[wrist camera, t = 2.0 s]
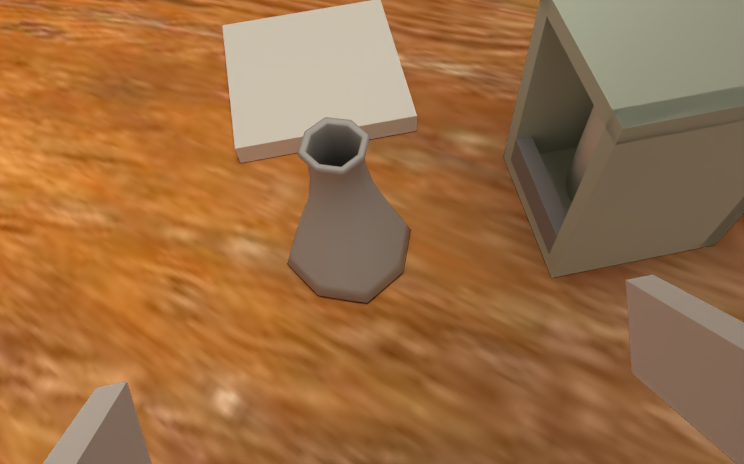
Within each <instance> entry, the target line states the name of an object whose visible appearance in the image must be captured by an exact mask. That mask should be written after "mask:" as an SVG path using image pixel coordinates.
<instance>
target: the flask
mask: <svg viewBox="0 0 744 464" xmlns="http://www.w3.org/2000/svg"><path fill="white" fill-rule="evenodd" d="M369 139H370V137H369V134H368V133H366V132H365V131H364V130H363V129H362V128H360V127H359V126H358V125H357V124H355V123H354V122H353V121H352V120H347V119H338V118H330V117H325V118H323V119H322V120H320V121H319V122H317V123H316V124H315V125H313V126H312V127H310V128H309V129H307V130H306V131H305V132H304V135H303V138H302V142H301V145H300V148H299V151H298V156H299V157H300V159H302V160H303V161H304V162H305V163H306V164H307V165H308V169H309V174H310V185H309V198H308V201H307V203H306V206H305V208H304V211H303V213H302V216H301V218H300V222H299V225H298V228H297V232H296V235H295V239H294V242H293V245H292V249H291V252H290V256H289V259H288V263H287V264H288V265H289V266H290V267H291V268H292V269H293V270H294V271H295V272H296V273H297V274H298V275H299V276H300V277H301V278H302V279H303V280H304V281H305V282H306V284H307V285H308V286H309V287H310V288H311V289H312V290H313V291H314V292H315V293H316V294H317V295H318V296H325V297H331V298H338V299H344V300H351V301H357V302H363V303H368V302H369V301H370V300H371V299H372V298H373V297H375V296H376V295H377V294H378V293H379V292H380V291H382V290H383V289H384V288H385V287H386V286H387V285H389V284H390V283H391V282H392V281H393V280H394V279H396V278H397V277H398V276H399V275H400V274H401V273H403V271H404V265H405V260H406V254H407V248H408V243H409V237H410V232H411V230H410V229H409V227H408V226H407V225H406V223H405V222H404V221H403V220H402V219H401V217H400V216H399V215H398V214H397V213H396V212H395V210H394V209H393V208H392V207H391V206H390V204H389V203H388V202H387V200H386V199H385V198H384V196H383V195H382V194H381V192H380V191H379V190H378V188H377V187H376V185H375V184H374V183H373V180H372V178H371V175H370V173H369V171H368V168H367V166H366V163H365V155H366V151H367V147H368V143H369Z"/></svg>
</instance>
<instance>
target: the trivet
mask: <svg viewBox="0 0 744 464" xmlns="http://www.w3.org/2000/svg"><path fill="white" fill-rule="evenodd" d="M223 35H224V45H225V55H226V65H227V75H228V85H229V94H230V104H231V114H232V124H233V134H234V144H235V150H236V153H237V155H238V158H239V161H240V163H243V162H249V161H254V160H260V159H265V158H271V157H276V156H282V155H287V154H293V153H298V151H299V148H300V145H301V142H302V138H303V135H304V132H305V131H306V130H307V129H309V128H310V127H312V126H313V125H315V124H316V123H317V122H319V121H320V120H322V119H323V118H325V117H330V118H338V119H347V120H352V121H353V122H354V123H355V124H357V125H358V126H359V127H360V128H362V129H363V130H364V131H365V132H366V133H368V134H369V137H370V139H375V138H380V137H386V136H391V135H396V134H402V133H407V132H413V131H417V114H416V111H415V108H414V105H413V102H412V98H411V95H410V92H409V89H408V86H407V83H406V79H405V76H404V73H403V70H402V67H401V64H400V60H399V57H398V54H397V51H396V48H395V45H394V41H393V38H392V35H391V32H390V29H389V26H388V22H387V19H386V16H385V13H384V10H383V7H382V3H381V0H371V1H365V2H359V3H353V4H347V5H341V6H335V7H329V8H324V9H318V10H312V11H306V12H300V13H294V14H288V15H282V16H276V17H270V18H264V19H258V20H252V21H246V22H240V23H234V24H228V25H223Z"/></svg>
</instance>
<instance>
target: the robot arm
mask: <svg viewBox="0 0 744 464" xmlns="http://www.w3.org/2000/svg"><path fill="white" fill-rule="evenodd" d="M625 281H626V296H627V310H628V325H629V339H630V354H631V368H632V374H633V375H634V376H635V377H637V378H638V379H639V380H640V381H641V382H642V383H644V384H645V385H646V386H647V387H648V388H649V389H650V390H652V391H653V392H654V393H655V394H656V395H657V396H659V397H660V398H661V399H662V400H663V401H664V402H666V403H667V404H668V405H669V406H670V407H671V408H672V409H674V410H675V411H676V412H677V413H678V414H679V415H681V416H682V417H683V418H684V419H685V420H686V421H687V422H689V423H690V424H691V425H692V426H693V427H694V428H696V429H697V430H698V431H699V432H700V433H701V434H702V435H704V436H705V437H706V438H707V439H708V440H709V441H711V442H712V443H713V444H714V445H715V446H716V447H718V448H719V449H720V450H721V451H722V452H723V453H724V454H726V455H727V456H728V457H729V458H730V459H731V460H733V461H734V462H735V463H736V464H744V322H742V321H740V320H738V319H736V318H734V317H733V316H731V315H729V314H727V313H725V312H723V311H721V310H719V309H717V308H716V307H714V306H712V305H710V304H708V303H706V302H704V301H702V300H700V299H698V298H697V297H695V296H693V295H691V294H689V293H687V292H685V291H683V290H681V289H680V288H678V287H676V286H674V285H672V284H670V283H668V282H666V281H664V280H662V279H661V278H659V277H657V276H655V275H653V274H652V275H648V276H643V277H638V278H633V279H628V280H625ZM43 464H152V463H151V460H150V457H149V453H148V450H147V447H146V443H145V440H144V437H143V433H142V430H141V427H140V423H139V420H138V417H137V413H136V410H135V407H134V403H133V400H132V397H131V393H130V390H129V387H128V383H127V382H122V383H117V384H112V385H108V386H103V387H98V388H96V389H95V390H94V392H93V393H92V394H91V396H90V397H89V399H88V400H87V401H86V403H85V404H84V406H83V407H82V409H81V410H80V411H79V413H78V414H77V416H76V417H75V418H74V420H73V421H72V423H71V424H70V426H69V427H68V428H67V430H66V431H65V433H64V434H63V435H62V437H61V438H60V440H59V441H58V443H57V444H56V445H55V447H54V448H53V450H52V451H51V453H50V454H49V455H48V457H47V458H46V460H45V461H44V462H43Z"/></svg>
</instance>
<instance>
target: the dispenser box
mask: <svg viewBox="0 0 744 464" xmlns="http://www.w3.org/2000/svg"><path fill="white" fill-rule="evenodd" d="M504 160H505V162H506V165H507V167H508V170H509V172H510V175H511V177H512V180H513V182H514V185H515V187H516V190H517V192H518V195H519V198H520V200H521V203H522V205H523V208H524V210H525V213H526V215H527V218H528V220H529V223H530V225H531V228H532V230H533V233H534V235H535V238H536V240H537V243H538V245H539V248H540V250H541V253H542V255H543V258H544V261H545V263H546V266H547V268H548V271H549V273H550V276H551V278H554V277H558V276H563V275H568V274H573V273H578V272H583V271H588V270H593V269H598V268H603V267H608V266H613V265H618V264H623V263H628V262H633V261H638V260H643V259H648V258H653V257H658V256H663V255H668V254H672V253H677V252H682V251H687V250H692V249H697V248H702V247H707V246H712V245H716V243H717V242H718V241H719V240H720V239H721V238H722V237H723V236H724V235H725V234H726V232H727V231H728V230H729V229H730V228H731V227H732V226H733V225H734V224H735V223H736V221H737V220H738V219H739V218H740V217H741V216H742V215H743V214H744V0H540V3H539V7H538V11H537V16H536V20H535V24H534V28H533V33H532V37H531V41H530V46H529V50H528V54H527V58H526V63H525V67H524V71H523V76H522V80H521V84H520V88H519V93H518V97H517V101H516V106H515V110H514V114H513V118H512V123H511V127H510V131H509V136H508V140H507V144H506V148H505V153H504Z"/></svg>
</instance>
